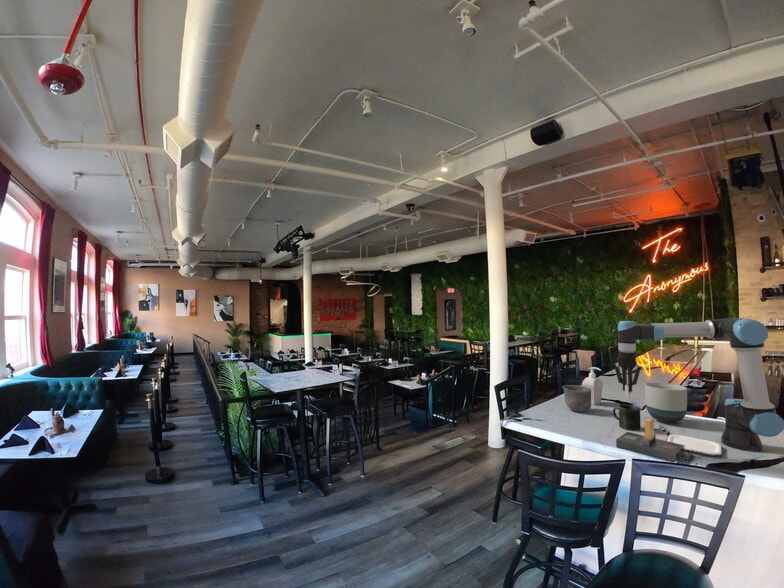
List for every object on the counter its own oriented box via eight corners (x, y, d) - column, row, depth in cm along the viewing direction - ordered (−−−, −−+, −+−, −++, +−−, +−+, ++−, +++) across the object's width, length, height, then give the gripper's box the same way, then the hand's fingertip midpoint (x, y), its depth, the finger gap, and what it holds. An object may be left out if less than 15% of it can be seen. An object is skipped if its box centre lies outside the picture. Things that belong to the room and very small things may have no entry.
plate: (721, 447, 184) (721, 442, 184) (721, 460, 168) (721, 455, 168) (669, 437, 197) (669, 433, 197) (665, 448, 182) (665, 444, 182)
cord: (693, 456, 172) (693, 454, 172) (688, 462, 166) (688, 459, 166) (690, 455, 173) (690, 453, 173) (685, 461, 166) (685, 459, 166)
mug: (635, 432, 203) (635, 411, 203) (608, 425, 215) (608, 404, 216) (645, 429, 209) (644, 407, 209) (618, 422, 221) (617, 402, 222)
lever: (654, 440, 181) (654, 418, 181) (649, 444, 176) (649, 421, 176) (649, 438, 183) (649, 417, 183) (644, 443, 177) (643, 420, 178)
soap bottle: (596, 407, 253) (596, 369, 254) (582, 403, 261) (581, 367, 262) (605, 404, 260) (605, 367, 260) (591, 401, 268) (590, 365, 269)
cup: (557, 410, 246) (557, 387, 246) (568, 405, 258) (568, 383, 258) (586, 416, 233) (585, 392, 233) (596, 410, 245) (595, 388, 245)
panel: (684, 453, 175) (684, 439, 175) (675, 463, 165) (675, 448, 165) (627, 439, 193) (627, 426, 194) (616, 447, 183) (616, 433, 183)
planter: (641, 415, 235) (640, 381, 235) (679, 418, 228) (678, 383, 228) (651, 425, 216) (651, 388, 216) (694, 429, 209) (693, 391, 209)
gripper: (644, 352, 184) (645, 399, 184) (615, 349, 194) (616, 394, 194) (639, 353, 180) (640, 401, 179) (610, 350, 190) (610, 396, 189)
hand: (627, 397), depth 187 cm, fingers closed
